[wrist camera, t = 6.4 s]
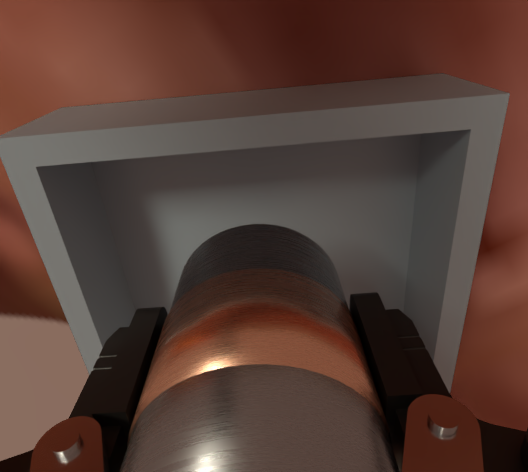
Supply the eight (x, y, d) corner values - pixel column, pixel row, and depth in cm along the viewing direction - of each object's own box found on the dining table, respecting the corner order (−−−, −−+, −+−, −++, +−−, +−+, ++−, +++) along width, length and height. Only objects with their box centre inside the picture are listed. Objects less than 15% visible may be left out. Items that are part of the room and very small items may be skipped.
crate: (61, 107, 17) (-7, 139, 13) (443, 73, 17) (509, 93, 12) (149, 387, 25) (126, 465, 21) (407, 369, 25) (439, 445, 20)
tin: (162, 229, 12) (19, 533, 5) (343, 216, 12) (469, 509, 5) (191, 361, 14) (126, 690, 7) (341, 351, 14) (421, 678, 7)
